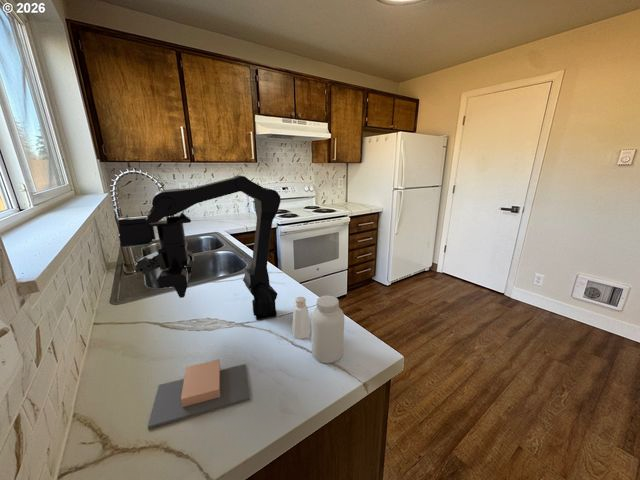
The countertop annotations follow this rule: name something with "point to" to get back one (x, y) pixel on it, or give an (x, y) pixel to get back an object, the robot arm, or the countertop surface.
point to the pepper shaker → (301, 319)
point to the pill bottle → (327, 330)
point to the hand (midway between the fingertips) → (182, 297)
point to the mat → (171, 407)
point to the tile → (201, 383)
